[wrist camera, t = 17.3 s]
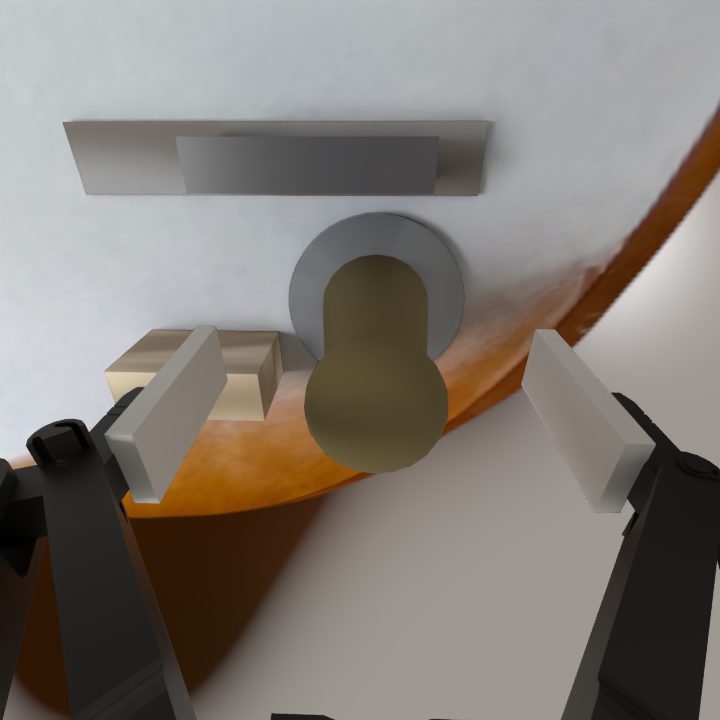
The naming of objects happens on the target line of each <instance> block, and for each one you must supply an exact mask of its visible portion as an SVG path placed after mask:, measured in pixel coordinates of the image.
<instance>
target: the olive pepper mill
mask: <svg viewBox="0 0 720 720" xmlns="http://www.w3.org/2000/svg"><path fill="white" fill-rule="evenodd" d="M323 330H324V357H323V358H322V359H321V360H320V361H319V362H318V363H317V365H316V367H315V369H314V371H313V373H312V375H311V377H310V378H309V381H308V384H307V387H306V394H305V404H304V410H305V417H306V420H307V424H308V427H309V431H310V434H311V435H312V437H313V438H314V439H315V441H316V442H317V443H318V445H319V446H320V447H321V449H322V450H323V451H324V453H325V454H326V455H328V456H329V457H330V458H332V459H333V460H334V461H336V462H337V463H338V464H340V465H343V466H345V467H348V468H350V469H353V470H356V471H361V472H369V473H384V472H394V471H397V470H400V469H403V468H405V467H409V466H411V465H413V464H414V463H416V462H417V461H419V460H420V459H422V458H423V457H425V456H426V455H427V454H428V452H429V451H430V450H431V449H432V447H433V446H434V445H435V444H436V442H437V441H438V440H439V439H440V437H441V436H442V433H443V430H444V427H445V424H446V421H447V417H448V395H447V389H446V386H445V382H444V380H443V378H442V376H441V374H440V372H439V370H438V368H437V366H436V364H435V363H434V362H433V361H432V360H431V359H430V358H429V357H428V356H427V343H428V296H427V290H426V288H425V286H424V284H423V282H422V279H421V277H420V276H419V275H418V274H417V273H416V272H415V271H414V270H413V269H412V268H411V267H410V266H409V265H408V264H406V263H404V262H402V261H400V260H398V259H396V258H395V257H390V256H384V255H378V254H374V255H368V256H361V257H358V258H356V259H354V260H352V261H350V262H348V263H346V264H344V265H342V266H341V267H340V268H339V269H338V270H337V272H336V273H335V274H334V275H333V276H332V277H331V279H330V281H329V283H328V285H327V287H326V289H325V291H324V299H323Z"/></svg>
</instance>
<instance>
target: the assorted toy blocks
mask: <svg viewBox="0 0 720 720" xmlns="http://www.w3.org/2000/svg"><path fill="white" fill-rule="evenodd" d="M63 125H64V128H65V131H66V135H67V138H68V141H69V144H70V147H71V150H72V153H73V156H74V159H75V162H76V165H77V168H78V171H79V174H80V177H81V180H82V184H83V187H84V190H85V193H86V195H287V196H478V193H479V185H480V178H481V171H482V164H483V157H484V149H485V142H486V135H487V128H488V121H293V122H63ZM212 136H439V145H438V156H437V168H436V179H435V191H434V194H187V192H186V187H185V183H184V178H183V173H182V168H181V163H180V158H179V153H178V149H177V144H176V139H175V137H212ZM193 331H194V330H151V331H150V332H148V333H147V334H146V335H145V336H144V337H143V338H142V339H140V340H139V341H138V342H137V343H136V344H135V345H134V346H132V347H131V348H130V349H129V350H128V351H127V352H125V353H124V354H123V355H122V356H121V357H120V358H119V359H117V360H116V361H115V362H114V363H113V364H112V365H111V366H109V367H108V368H107V369H106V370H105V371H104V375H105V378H106V380H107V383H108V385H109V388H110V390H111V393H112V396H113V398H114V401H115V403H117V402H118V400H119V399H120V398H121V397H122V396H123V395H125V394H126V393H128V392H129V391H131V390H133V389H134V388H136V387H146V385H147V384H148V383H149V382H150V381H151V380H152V378H153V377H154V376H155V375H156V374H157V373H158V372H159V370H160V369H161V368H162V367H163V366H164V365H165V363H166V362H167V361H168V360H169V359H170V358H171V356H172V355H173V354H174V353H175V352H176V351H177V350H178V348H179V347H180V346H181V345H182V344H183V343H184V341H185V340H186V339H187V338H188V337H189V336H190V334H191V333H192V332H193ZM217 332H218V337H219V341H220V346H221V351H222V355H223V360H224V365H225V369H226V374H227V379H228V382H227V384H226V385H225V387H224V389H223V391H222V393H221V394H220V396H219V398H218V400H217V401H216V403H215V405H214V407H213V409H212V410H211V412H210V414H209V416H208V417H207V419H206V420H250V421H265V419H266V416H267V413H268V411H269V408H270V406H271V403H272V400H273V398H274V395H275V393H276V390H277V387H278V385H279V382H280V380H281V377H282V374H283V367H282V359H281V350H280V342H279V333H278V332H276V331H217Z"/></svg>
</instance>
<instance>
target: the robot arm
mask: <svg viewBox="0 0 720 720" xmlns="http://www.w3.org/2000/svg"><path fill="white" fill-rule="evenodd" d="M227 382H228V379H227V374H226V369H225V365H224V360H223V355H222V351H221V346H220V341H219V337H218V332H217V328H216V326H197V328H196V329H195V330H194V331H193V332H192V333H191V334H190V336H189V337H188V338H187V339H186V340H185V341H184V343H183V344H182V345H181V346H180V347H179V348H178V350H177V351H176V352H175V353H174V354H173V355H172V356H171V358H170V359H169V360H168V361H167V362H166V363H165V365H164V366H163V367H162V368H161V369H160V370H159V372H158V373H157V374H156V375H155V376H154V377H153V378H152V380H151V381H150V382H149V383H148V384H147V385H146V387H136V388H134V389H133V390H131V391H129V392H128V393H126V394H125V395H123V396H122V397H121V398H120V399H119V400H118V402H117V403H116V404H115V405H114V407H112V408H111V409H110V410H109V411H108V412H107V415H105V416H104V417H103V418H102V419H101V420H100V421H99V422H98V423H97V424H96V426H95V427H94V428H93V429H92V430H91V431H90V432H89V431H88V429H87V427H86V425H85V424H84V423H83V421H81V420H77V419H64V420H60V421H56V422H53V423H51V424H49V425H46V426H44V427H42V428H41V429H39V430H38V431H36V432H35V433H33V434H32V435H31V437H30V438H29V439H28V440H27V444H26V447H27V448H28V450H29V452H30V453H31V455H32V457H33V458H34V460H35V462H36V463H37V465H34V466H29V467H24V468H19V469H14V470H13V469H12V467H11V466H10V464H9V463H8V462H7V461H6V460H5V459H1V458H0V720H3V715H4V711H5V707H6V703H7V699H8V695H9V691H10V687H11V683H12V679H13V675H14V671H15V666H16V662H17V658H18V654H19V650H20V646H21V642H22V638H23V634H24V629H25V625H26V621H27V617H28V613H29V609H30V605H31V601H32V597H33V593H34V588H35V584H36V580H37V576H38V572H39V568H40V564H41V560H42V556H43V552H44V548H45V543H46V540H47V536H48V538H49V545H50V553H51V561H52V569H53V576H54V584H55V592H56V600H57V607H58V615H59V623H60V631H61V638H62V646H63V654H64V661H65V669H66V676H67V685H68V692H69V699H70V707H71V716H72V720H197V719H196V716H195V713H194V710H193V707H192V705H191V702H190V699H189V696H188V693H187V690H186V687H185V684H184V681H183V678H182V675H181V672H180V669H179V666H178V663H177V660H176V657H175V654H174V651H173V648H172V645H171V643H170V640H169V637H168V634H167V631H166V628H165V625H164V622H163V619H162V616H161V613H160V610H159V607H158V604H157V602H156V598H155V595H154V592H153V589H152V586H151V584H150V580H149V578H148V575H147V572H146V569H145V566H144V563H143V560H142V557H141V554H140V551H139V548H138V545H137V542H136V539H135V536H134V533H133V530H132V527H131V524H130V522H129V518H128V516H127V513H126V510H125V507H124V505H123V503H122V499H123V498H124V496H125V495H126V493H127V492H128V490H129V491H130V493H131V496H132V498H133V500H134V502H135V503H160V501H161V499H162V498H163V496H164V494H165V492H166V490H167V489H168V487H169V485H170V483H171V482H172V480H173V478H174V476H175V474H176V473H177V471H178V469H179V467H180V466H181V464H182V462H183V460H184V458H185V457H186V455H187V453H188V451H189V449H190V448H191V446H192V444H193V442H194V441H195V439H196V437H197V435H198V433H199V432H200V430H201V428H202V426H203V425H204V423H205V421H206V419H207V417H208V416H209V414H210V412H211V410H212V409H213V407H214V405H215V403H216V401H217V400H218V398H219V396H220V394H221V393H222V391H223V389H224V387H225V385H226V384H227ZM521 386H522V387H523V389H524V391H525V393H526V394H527V396H528V398H529V400H530V401H531V403H532V405H533V407H534V408H535V410H536V412H537V414H538V415H539V417H540V419H541V421H542V422H543V424H544V426H545V428H546V429H547V431H548V433H549V435H550V437H551V438H552V440H553V442H554V444H555V445H556V447H557V449H558V451H559V452H560V454H561V456H562V457H563V459H564V461H565V463H566V465H567V466H568V468H569V470H570V472H571V473H572V475H573V477H574V479H575V480H576V482H577V484H578V486H579V487H580V489H581V491H582V493H583V494H584V496H585V498H586V500H587V501H588V503H589V505H590V507H591V508H592V510H593V512H595V513H620V512H621V510H622V508H623V506H624V504H625V502H626V501H627V499H628V501H629V502H630V503H631V505H632V506H633V508H634V509H635V512H634V513H633V515H632V517H631V519H630V521H629V522H628V524H627V526H626V528H625V530H624V531H623V533H622V535H623V536H625V537H624V539H623V542H622V545H621V548H620V551H619V554H618V557H617V560H616V563H615V565H614V568H613V571H612V574H611V577H610V580H609V583H608V586H607V589H606V592H605V594H604V597H603V600H602V603H601V606H600V609H599V612H598V614H597V617H596V620H595V623H594V626H593V629H592V632H591V635H590V637H589V640H588V643H587V646H586V649H585V652H584V655H583V658H582V660H581V663H580V666H579V669H578V672H577V676H576V678H575V681H574V684H573V686H572V689H571V692H570V695H569V698H568V701H567V704H566V707H565V709H564V712H563V715H562V718H561V720H699V712H700V703H701V695H702V686H703V677H704V669H705V660H706V652H707V643H708V634H709V626H710V617H711V609H712V600H713V591H714V582H715V574H716V565H717V561H718V565H719V569H720V469H719V468H718V467H717V466H715V465H714V464H712V463H711V462H710V461H708V460H706V459H704V458H702V457H700V456H698V455H695V454H692V453H688V452H681V451H680V450H679V449H678V448H677V447H676V446H675V445H674V444H673V443H672V442H671V440H670V439H669V438H668V437H667V436H666V435H665V434H664V433H663V432H662V431H661V430H660V429H659V428H658V427H657V426H656V425H655V424H654V423H652V420H651V419H650V418H649V417H648V416H647V415H644V412H643V411H642V410H641V409H640V408H639V407H638V405H637V404H636V403H634V402H633V401H632V400H630V399H629V398H627V397H626V396H624V395H622V394H621V393H610V392H609V391H608V389H607V388H606V387H605V386H604V385H603V384H602V383H601V382H600V380H599V379H598V378H597V377H596V376H595V375H594V374H593V372H592V371H591V370H590V369H589V368H588V367H587V366H586V364H585V363H584V362H583V361H582V360H581V359H580V358H579V357H578V356H577V354H576V353H575V352H574V351H573V350H572V349H571V348H570V346H569V345H568V344H567V343H566V342H565V341H564V340H563V339H562V337H561V336H560V335H559V334H558V333H557V332H556V331H555V330H550V329H535V333H534V337H533V341H532V345H531V349H530V353H529V357H528V360H527V364H526V368H525V372H524V376H523V380H522V384H521ZM271 720H334V719H331V718H329V717H327V716H324V715H301V714H273V713H272V714H271ZM430 720H446V719H430Z"/></svg>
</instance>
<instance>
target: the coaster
mask: <svg viewBox="0 0 720 720" xmlns="http://www.w3.org/2000/svg"><path fill="white" fill-rule="evenodd" d="M374 254H378V255H384V256H390V257H395V258H396V259H398V260H400V261H402V262H404V263H406V264H408V265H409V266H410V267H411V268H412V269H413V270H414V271H415V272H416V273H417V274H418V275H419V276H420V277H421V279H422V282H423V284H424V286H425V288H426V290H427V296H428V343H427V356H428V357H429V358H430V359H431V360H432V361H434V360H435V359H436V358H437V357H438V356H439V355H440V354H441V353H442V352H443V351H444V350H445V349H446V348H447V346H448V345H449V343H450V342H451V341H452V339H453V337H454V335H455V334H456V332H457V330H458V327H459V324H460V322H461V319H462V314H463V309H464V286H463V281H462V277H461V274H460V271H459V268H458V266H457V264H456V262H455V260H454V258H453V256H452V255H451V253H450V251H449V250H448V249H447V247H446V246H445V245H444V243H443V242H442V241H441V240H440V239H439V238H438V237H437V236H436V235H435V234H434V233H433V232H431V231H430V230H428V229H427V228H426V227H424V226H423V225H421V224H419V223H417V222H415V221H413V220H410V219H408V218H405V217H402V216H398V215H393V214H386V213H368V214H361V215H356V216H352V217H349V218H346V219H344V220H341V221H339V222H337V223H335V224H333V225H331V226H330V227H328V228H327V229H325V230H324V231H323V232H321V233H320V234H319V235H318V236H317V237H316V238H315V239H314V240H313V241H312V242H311V243H310V244H309V246H308V247H307V248H306V249H305V251H304V253H303V254H302V256H301V258H300V259H299V261H298V263H297V265H296V267H295V269H294V272H293V274H292V278H291V282H290V288H289V310H290V316H291V320H292V323H293V326H294V328H295V331H296V333H297V335H298V337H299V338H300V340H301V342H302V343H303V345H304V346H305V347H306V348H307V350H308V351H309V352H310V353H311V354H312V355H313V356H314V357H315V358H316V359H317V360H318V361H320V360H321V359H322V358H323V357H324V330H323V299H324V291H325V289H326V287H327V285H328V283H329V281H330V279H331V277H332V276H333V275H334V274H335V273H336V272H337V270H338V269H339V268H340V267H341V266H342V265H344V264H346V263H348V262H350V261H352V260H354V259H356V258H358V257H361V256H368V255H374Z"/></svg>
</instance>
